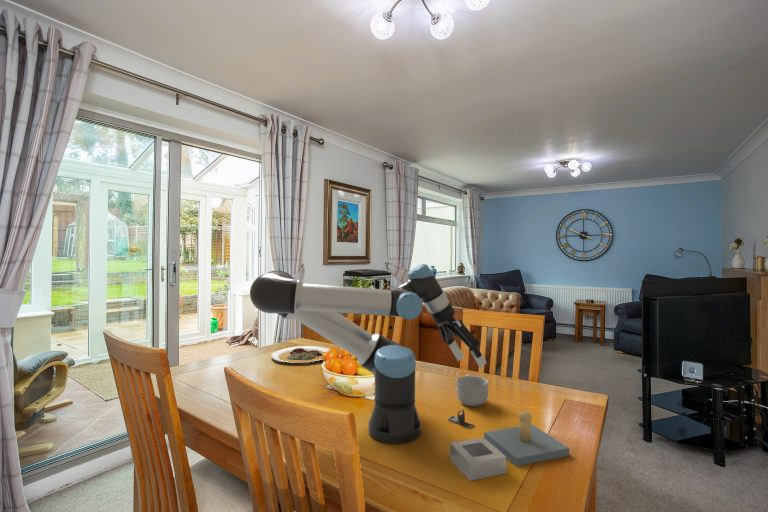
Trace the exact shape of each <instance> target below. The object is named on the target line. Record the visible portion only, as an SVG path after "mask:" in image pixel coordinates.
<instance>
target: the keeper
mask: <svg viewBox="0 0 768 512" xmlns="http://www.w3.org/2000/svg"><path fill="white" fill-rule="evenodd" d="M518 419H519V426H515V427H508V428H502V429H495V430H488V431H484V432H483V438H485V439H486V440H487V441H488V442H489V443H491V444H492V445H493V446H494V447H495V448H497V449H498V450H499V451H500V452H501V453H503V454H504V455H505V456H506V460H508V461H509V462H510V463H511V464H513V465H514V466H515V467H519V466H526V465H530V464H535V463H539V462H540V463H541V462H545V461H551V460H556V459H560V458H565V457H569V456H570V447H569V446H567V445H565V444H564V443H562V442H561V441H559V440H557V439H556V438H555V437H553V436H551V435H549V434H548V433H546V432H545V431H543V430H542V429H540V428H539V427H537V426H535V424H532V414H531V413H530V412H529V411H526V410H522V411H520V412H519V414H518Z"/></svg>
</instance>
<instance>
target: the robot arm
mask: <svg viewBox="0 0 768 512" xmlns="http://www.w3.org/2000/svg"><path fill="white" fill-rule="evenodd" d="M407 277H408V278H407V280H406V281H404V282H402V283H401V284H400V285H397V286H396V287H394V288H393V289H382V288H381V289H380V288H369V287H357V286H356V287H355V286H341V285H340V286H339V285H327V284H318V283H304V282H302V281H301V279H296V278H294V277H293V276H292V274H290V273H288V272H287V271H283V270H271V271H268V272H266V273H263V274H261V275H259V276H258V277H256V278H255V280H254V281H253V282H252V284H251V286H250V290H249V298H250V301H251V303H252V305H253V306H254V307H255V309H257V310H259V311H260V312H262V313H266V314H277V315H279V316H280V317H282V318H283V319H285V320H287V319H295V320H296V321H298V322H299V323H301V324H303V325H304V326H305V327H307V328H309V329H310V330H312V331H314V332H316V333H317V334H318V335H320V336H322V337H324V338H325V339H327V340H328V341H330V342H331V343H333V344H334V345H336V346H338V348H341V349H342V350H344V351H346V352H347V353H349V354H351V355H352V356H354V357H356V359H357V362H358V363H357V364H358V365H359V366H360V367H362V368H363V369H364V370H367V371H368V372H370V373H372V374H373V377H374V406H373V408H372V411H371V415H370V417H369V421H368V434H369V436H371V437H372V438H373V439H374V440H377V441H379V442H381V443H386V444H405V443H409V442H412V441H414V440H416V439H418V438H419V437H420V436H421V433H422V423H421V419H420V416H419V413H418V410H417V407H416V365H417V363H416V362H417V361H416V356H415V353H414V351H413V350H412V349H411V348H409V347H405V346H403V345H400V344H399V343H398V342H396V341H395V340H392V339H388V338H386V337H385V336H383V335H382V334H380V333H379V332H376V333H370V332H369V331H367V330H365V329H364V328H362V327H361V326H359V325H358V324H356V323H354V322H353V321H351V320H350V319H348V318H347V317H345V316H343V315H342V314H355V315H357V314H358V315H371V316H372V315H374V316H388V317H391V318H393V317H397V318H398V317H400V318H402V319H404V320H414V319H416V318H418V317H419V316H420V314H421V313H422V311H423V307H424V306H425V308H426V310H427V312H428V313H430V316H431V317H432V319H433V320H434V323H436V325H437V327H438V330H439V334H440V336H441V339H442V342H443V343H446V345H448V347H449V348H450V350H451V352H452V354H453V355H454V357H455V359H456V361H457V362H460V361H461V360H462V359H463V358H465V355H464V353H463V352H462V350H461V348H460V346H459V345H458V343H457V342H456V340H455V338H454V336H456V337H457V338H458V339H460V340H461V342H463V344H465V346H466V347H468V348H469V349H468V351H469V352H470V353H471V355H472V357H473V359H474V360H475V361H474V362H476V364H477V366H478V367H479V369H480V368H483V366H485V365H486V364H487V361H486V358H485V357H484V355H483V353H482V351H481V350H480V348H479V346H480V345H481V342H480V341H479V340H478V339H476V337H475V336H474V334H472V332H471V331H470V330H469V329H468V327H467V326H466V325H465V324H464V323H463V321H462V319H460V318H459V319H458V320H456V319H455V318H454V317H455V314H456V310H455V308H454V307H453V305H452V304H451V303H450V301H449V299H448V297H447V293H446V292H444V290H443V289H442V287H441V285H440V283H439V282H438V279H437V278H436V276H435V274H434V273H433V271H432V270H431V268H430V267H429V265H428V264H426V263H421V264H418V265H417V266H415V267H413V268H412V269H411V270H409V271H408V272H407ZM423 305H424V306H423Z"/></svg>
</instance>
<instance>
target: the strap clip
mask: <svg viewBox="0 0 768 512" xmlns="http://www.w3.org/2000/svg"><path fill="white" fill-rule="evenodd" d="M464 410H465V409H460V410H458V411H457V416H455V415H452V416H449V417H447V421H449V422H451V423H453V424H459V425H460V427H463V428H466V429H469V430H472V429H474V428H475V427H476V425H474V424H472V423H470V422H467V421H466V415H465V411H464ZM461 412H462V413H461ZM460 413H461V414H460Z"/></svg>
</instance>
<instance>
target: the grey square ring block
mask: <svg viewBox="0 0 768 512" xmlns="http://www.w3.org/2000/svg"><path fill="white" fill-rule="evenodd" d="M449 460H450V461H451V462H452V463H453V464H454V465H455V467H456V468H457V469H458V470H459V471H460V472H461V473H462V474H463V475H464V476H465V477H466V478H467V480H468V481H476V480H479V479H480V480H481V479H485V478H491V477H495V476H500V475H505V474H507V458H506V456H505V455H504V454H503V453H501V452H500V451H499V450H498V449H497V448H495V447H494V446H493V445H492V444H491V443H489V442H488V441H487V440H486V439H485V438H484V437H479V438H472V439H466V440H460V441H454V442H450V443H449Z"/></svg>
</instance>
